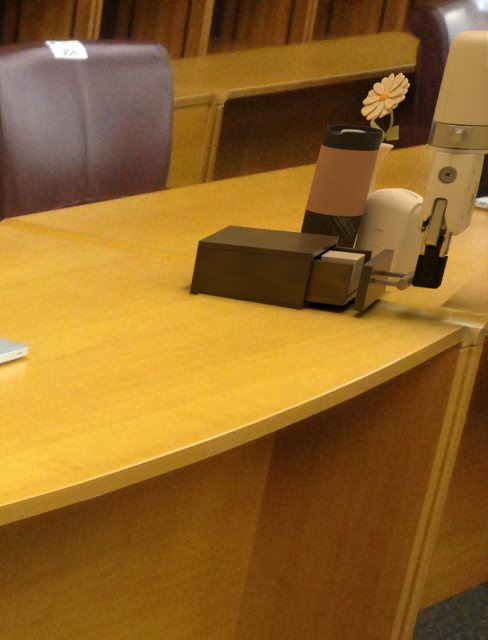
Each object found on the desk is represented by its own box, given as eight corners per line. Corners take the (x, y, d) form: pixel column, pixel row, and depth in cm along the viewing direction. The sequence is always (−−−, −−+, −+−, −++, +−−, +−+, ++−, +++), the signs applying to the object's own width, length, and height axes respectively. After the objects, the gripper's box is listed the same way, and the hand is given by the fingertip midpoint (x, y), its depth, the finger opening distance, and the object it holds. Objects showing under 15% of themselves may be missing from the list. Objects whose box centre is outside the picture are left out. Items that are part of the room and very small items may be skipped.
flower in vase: (311, 222, 260) (349, 65, 248) (382, 226, 258) (424, 68, 246) (328, 237, 249) (368, 74, 237) (403, 242, 247) (447, 77, 235)
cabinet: (327, 292, 212) (339, 236, 209) (300, 311, 202) (312, 253, 198) (219, 279, 220) (229, 225, 217) (188, 297, 209) (198, 240, 206)
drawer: (417, 297, 205) (428, 253, 203) (396, 315, 196) (407, 270, 193) (280, 281, 215) (289, 238, 212) (254, 298, 205) (262, 254, 202)
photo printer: (343, 269, 225) (365, 183, 219) (368, 269, 226) (391, 182, 220) (390, 286, 216) (414, 196, 210) (416, 285, 217) (441, 196, 211)
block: (322, 284, 208) (329, 250, 206) (357, 288, 205) (365, 254, 203) (314, 289, 204) (321, 255, 202) (350, 294, 202) (357, 259, 200)
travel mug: (345, 268, 226) (381, 126, 217) (349, 279, 220) (387, 134, 211) (289, 263, 229) (323, 122, 219) (292, 274, 222) (327, 130, 213)
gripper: (486, 147, 183) (447, 300, 191) (505, 134, 194) (467, 280, 202) (417, 141, 187) (382, 292, 195) (440, 130, 198) (405, 273, 206)
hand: (425, 286), depth 198 cm, fingers closed
